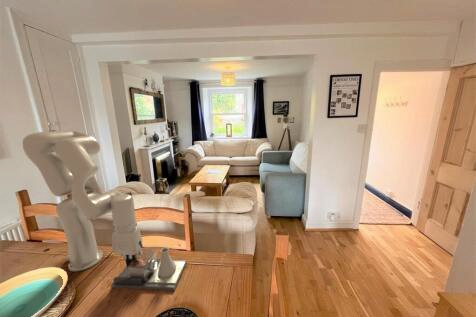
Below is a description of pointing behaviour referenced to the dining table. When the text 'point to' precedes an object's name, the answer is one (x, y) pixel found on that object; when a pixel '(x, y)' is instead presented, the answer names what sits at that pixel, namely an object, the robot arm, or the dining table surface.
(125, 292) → the dining table surface
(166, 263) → the flask
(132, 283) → the press base
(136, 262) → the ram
